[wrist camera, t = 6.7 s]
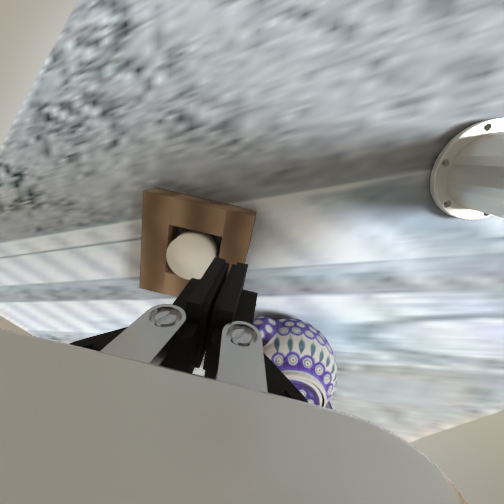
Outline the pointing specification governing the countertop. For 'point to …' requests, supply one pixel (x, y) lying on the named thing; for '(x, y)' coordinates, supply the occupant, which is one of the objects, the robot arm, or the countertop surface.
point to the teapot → (300, 356)
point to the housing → (194, 218)
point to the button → (191, 254)
